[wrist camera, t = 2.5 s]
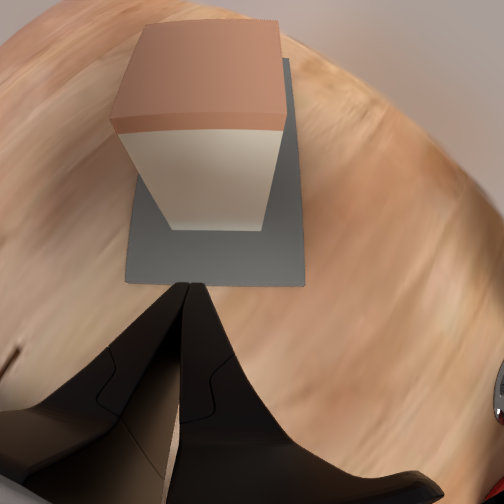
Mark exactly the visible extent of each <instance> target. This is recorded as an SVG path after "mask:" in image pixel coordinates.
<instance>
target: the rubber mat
mask: <svg viewBox="0 0 504 504" xmlns="http://www.w3.org/2000/svg"><path fill="white" fill-rule="evenodd" d="M282 61H283V72H284V83H285V94H286V106H287V117H286V122H285V126H284V131H283V135H282V140H281V144H280V148H279V153H278V157H277V162H276V166H275V171H274V175H273V180H272V184H271V189H270V193H269V198H268V202H267V207H266V211H265V215H264V220H263V224H262V229H261V231H222V230H172V229H171V227H170V225H169V224H168V222H167V220H166V219H165V217H164V215H163V214H162V212H161V210H160V209H159V207H158V205H157V204H156V202H155V200H154V199H153V197H152V195H151V193H150V192H149V190H148V188H147V186H146V185H145V183H144V181H143V180H142V178H141V176H140V174H139V173H138V179H137V185H136V191H135V197H134V204H133V211H132V218H131V226H130V234H129V243H128V252H127V262H126V274H125V282H127V283H133V284H158V285H174V284H175V283H176V282H189V283H190V284H191V283H192V282H203V283H204V284H205V286H237V287H304V286H305V259H304V235H303V215H302V197H301V182H300V168H299V154H298V142H297V131H296V120H295V109H294V99H293V90H292V81H291V72H290V64H289V58H282Z"/></svg>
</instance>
